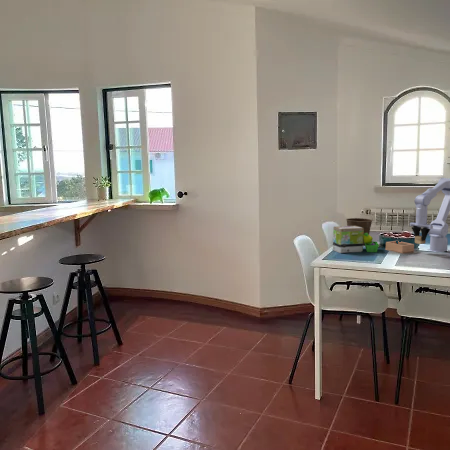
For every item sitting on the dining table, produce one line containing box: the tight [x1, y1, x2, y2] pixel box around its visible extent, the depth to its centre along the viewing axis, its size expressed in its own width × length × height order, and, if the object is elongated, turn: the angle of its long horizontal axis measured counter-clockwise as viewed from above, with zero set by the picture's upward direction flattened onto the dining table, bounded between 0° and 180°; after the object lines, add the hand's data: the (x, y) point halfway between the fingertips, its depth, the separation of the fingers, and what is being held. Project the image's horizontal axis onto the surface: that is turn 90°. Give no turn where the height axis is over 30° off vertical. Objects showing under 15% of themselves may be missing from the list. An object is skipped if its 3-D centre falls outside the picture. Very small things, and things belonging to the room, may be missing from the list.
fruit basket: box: [363, 233, 380, 253], centre depth 275 cm, size 11×9×11 cm
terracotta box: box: [385, 240, 415, 255], centre depth 273 cm, size 9×13×5 cm
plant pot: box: [345, 217, 373, 247], centre depth 297 cm, size 16×16×16 cm
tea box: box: [332, 225, 364, 254], centre depth 277 cm, size 15×10×15 cm
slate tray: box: [383, 248, 421, 256], centre depth 273 cm, size 12×17×1 cm
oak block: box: [414, 235, 427, 245], centre depth 265 cm, size 4×4×4 cm
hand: (420, 239), depth 265 cm, fingers closed on oak block, 4 cm apart
